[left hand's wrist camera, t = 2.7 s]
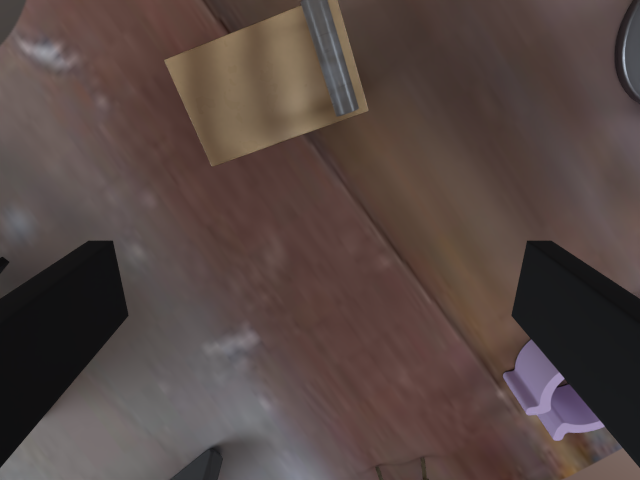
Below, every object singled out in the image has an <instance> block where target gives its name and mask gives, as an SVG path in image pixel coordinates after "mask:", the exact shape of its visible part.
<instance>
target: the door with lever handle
mask: <svg viewBox="0 0 640 480" xmlns="http://www.w3.org/2000/svg"><path fill="white" fill-rule="evenodd" d="M164 61H165V63H166V66H167V68H168V70H169V72H170V75H171V77H172V79H173V81H174V84H175V86H176V88H177V90H178V93H179V95H180V97H181V99H182V101H183V104H184V106H185V108H186V110H187V113H188V115H189V117H190V119H191V122H192V124H193V126H194V128H195V130H196V133H197V135H198V137H199V139H200V142H201V144H202V146H203V148H204V151H205V153H206V155H207V157H208V160H209V162H210V164H211V166H212V167H213V166H216V165H219V164H222V163H225V162H227V161H230V160H233V159H236V158H239V157H241V156H244V155H247V154H250V153H253V152H255V151H258V150H261V149H264V148H266V147H269V146H272V145H275V144H278V143H280V142H283V141H286V140H289V139H292V138H294V137H297V136H300V135H303V134H306V133H308V132H311V131H314V130H317V129H319V128H322V127H325V126H328V125H331V124H333V123H336V122H339V121H342V120H345V119H347V118H350V117H353V116H356V115H359V114H361V113H364V112H367V111H369V109H368V106H367V102H366V99H365V95H364V91H363V88H362V84H361V81H360V77H359V74H358V70H357V67H356V63H355V60H354V56H353V53H352V49H351V46H350V42H349V39H348V35H347V32H346V28H345V25H344V21H343V18H342V14H341V10H340V7H339V3H338V0H302V1H301V6H298V7H296V8H293V9H291V10H288V11H286V12H283V13H281V14H278V15H276V16H273V17H271V18H268V19H266V20H263V21H261V22H258V23H256V24H253V25H251V26H248V27H245V28H243V29H240V30H238V31H235V32H233V33H230V34H228V35H225V36H223V37H220V38H218V39H215V40H213V41H210V42H208V43H205V44H203V45H200V46H198V47H195V48H193V49H190V50H188V51H185V52H183V53H180V54H178V55H175V56H173V57H170V58H168V59H165V60H164Z"/></svg>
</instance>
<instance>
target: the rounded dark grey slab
mask: <svg viewBox="0 0 640 480" xmlns="http://www.w3.org/2000/svg"><path fill="white" fill-rule="evenodd" d="M222 460H223V459H222V457H221V455H220V453H218V452H217V451H215V450H214V449H209V450H207V451H206V452H204V453H203V454H202V455H200V456H199V457H198V458H197V459H195V460H194V461H193V462H192V463H191V464H189V465H188V466H187V467H186V468H184V469H183V470H182V471H181V472H180V473H178V474H177V475H176V476H175V477H173V478H172V479H171V480H217V479H218V475H219V472H220V468H221V464H222Z"/></svg>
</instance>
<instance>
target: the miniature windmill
mask: <svg viewBox="0 0 640 480" xmlns="http://www.w3.org/2000/svg"><path fill="white" fill-rule="evenodd" d="M421 465H422V475H423V480H429V479H427V476H426V467H425V459H424V458H421ZM375 468H376V471H377V474H378V477H379V480H383V478H382V475H381V472H380V469H379V466H378V467H375Z"/></svg>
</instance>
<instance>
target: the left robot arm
mask: <svg viewBox="0 0 640 480" xmlns="http://www.w3.org/2000/svg"><path fill="white" fill-rule="evenodd" d="M615 64H616V70H617V75H618V78H619V81H620V83H621V85H622V87H623V88H624V90H625V91H626V93H627V94H628V95H629V96H630V97H631V98H632V99H633V100H635V101H636V102H638V103H639V104H640V0H633V2H632V3H631V5H630V7H629V8H628V10H627V12H626V14H625V16H624V19H623V21H622V23H621V26H620V29H619V33H618V37H617V41H616V48H615ZM127 317H128V311H127V306H126V301H125V297H124V292H123V287H122V282H121V277H120V273H119V268H118V263H117V258H116V254H115V249H114V244H113V241H88V242H86V243H84V244H83V245H81V246H80V247H78V248H77V249H75V250H74V251H72V252H71V253H69V254H68V255H66V256H65V257H63V258H62V259H60V260H59V261H57V262H56V263H54V264H53V265H51V266H50V267H48V268H46V269H45V270H43V271H42V272H40V273H39V274H37V275H36V276H34V277H33V278H31V279H30V280H28V281H27V282H25V283H24V284H22V285H21V286H19V287H18V288H16V289H15V290H13V291H12V292H10V293H9V294H7V295H5V296H4V297H2V298H1V299H0V467H1V466H2V465H3V464H4V463H5V462H6V460H7V459H8V458H9V457H10V456H11V454H12V453H13V452H14V451H15V450H16V448H17V447H18V446H19V445H20V444H21V443H22V441H23V440H24V439H25V438H26V437H27V435H28V434H29V433H30V432H31V431H32V430H33V428H34V427H35V426H36V425H37V424H38V422H39V421H40V420H41V419H42V418H43V416H44V415H45V414H46V413H47V412H48V411H49V409H50V408H51V407H52V406H53V405H54V403H55V402H56V401H57V400H58V399H59V397H60V396H61V395H62V394H63V393H64V392H65V390H66V389H67V388H68V387H69V386H70V384H71V383H72V382H73V381H74V380H75V378H76V377H77V376H78V375H79V374H80V373H81V371H82V370H83V369H84V368H85V367H86V365H87V364H88V363H89V362H90V361H91V360H92V358H93V357H94V356H95V355H96V354H97V352H98V351H99V350H100V349H101V348H102V346H103V345H104V344H105V343H106V342H107V341H108V339H109V338H110V337H111V336H112V335H113V333H114V332H115V331H116V330H117V329H118V327H119V326H120V325H121V324H122V323H123V322H124V320H125V319H126V318H127ZM512 317H513V318H514V319H515V320H516V322H517V323H518V324H519V325H520V326H521V327H522V329H523V330H524V331H525V332H526V333H527V335H528V336H529V337H530V338H531V339H532V341H533V342H534V343H535V344H536V345H537V346H538V348H539V349H540V350H541V351H542V352H543V354H544V355H545V356H546V357H547V358H548V360H549V361H550V362H551V363H552V364H553V365H554V367H555V368H556V369H557V370H558V371H559V373H560V374H561V375H562V376H563V377H564V379H565V380H566V381H567V382H568V383H569V384H570V386H571V387H572V388H573V389H574V390H575V392H576V393H577V394H578V395H579V396H580V397H581V399H582V400H583V401H584V402H585V403H586V405H587V406H588V407H589V408H590V409H591V411H592V412H593V413H594V414H595V415H596V416H597V418H598V419H599V420H600V421H601V422H602V424H603V425H604V426H605V427H606V428H607V430H608V431H609V432H610V433H611V434H612V435H613V437H614V438H615V439H616V440H617V441H618V443H619V444H620V445H621V446H622V447H623V448H624V450H625V451H626V452H627V453H628V454H629V456H630V457H631V458H632V459H633V460H634V462H635V463H636V464H637V465H638V466H639V467H640V299H639V298H638V297H636V296H635V295H633V294H631V293H630V292H628V291H627V290H625V289H624V288H622V287H621V286H619V285H618V284H616V283H615V282H613V281H612V280H610V279H609V278H607V277H606V276H604V275H603V274H601V273H600V272H598V271H597V270H595V269H594V268H592V267H590V266H589V265H587V264H586V263H584V262H583V261H581V260H580V259H578V258H577V257H575V256H574V255H572V254H571V253H569V252H568V251H566V250H565V249H563V248H562V247H560V246H559V245H557V244H556V243H554V242H552V241H527V244H526V249H525V254H524V258H523V263H522V268H521V273H520V277H519V282H518V287H517V292H516V297H515V301H514V306H513V311H512Z"/></svg>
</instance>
